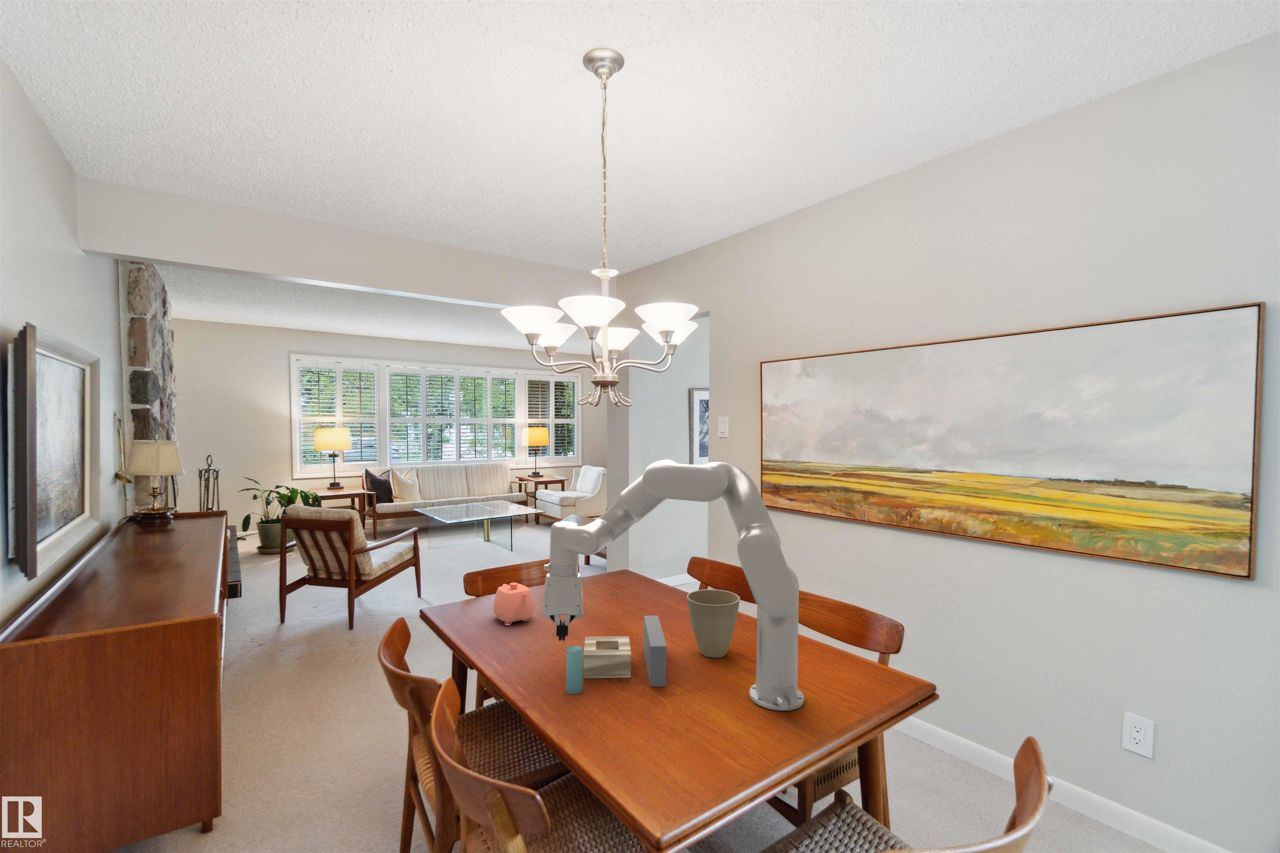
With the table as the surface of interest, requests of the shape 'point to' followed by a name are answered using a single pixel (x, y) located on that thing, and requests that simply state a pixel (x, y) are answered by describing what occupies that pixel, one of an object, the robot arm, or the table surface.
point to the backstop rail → (655, 651)
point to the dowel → (574, 669)
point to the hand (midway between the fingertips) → (562, 638)
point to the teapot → (513, 603)
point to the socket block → (607, 657)
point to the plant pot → (713, 619)
